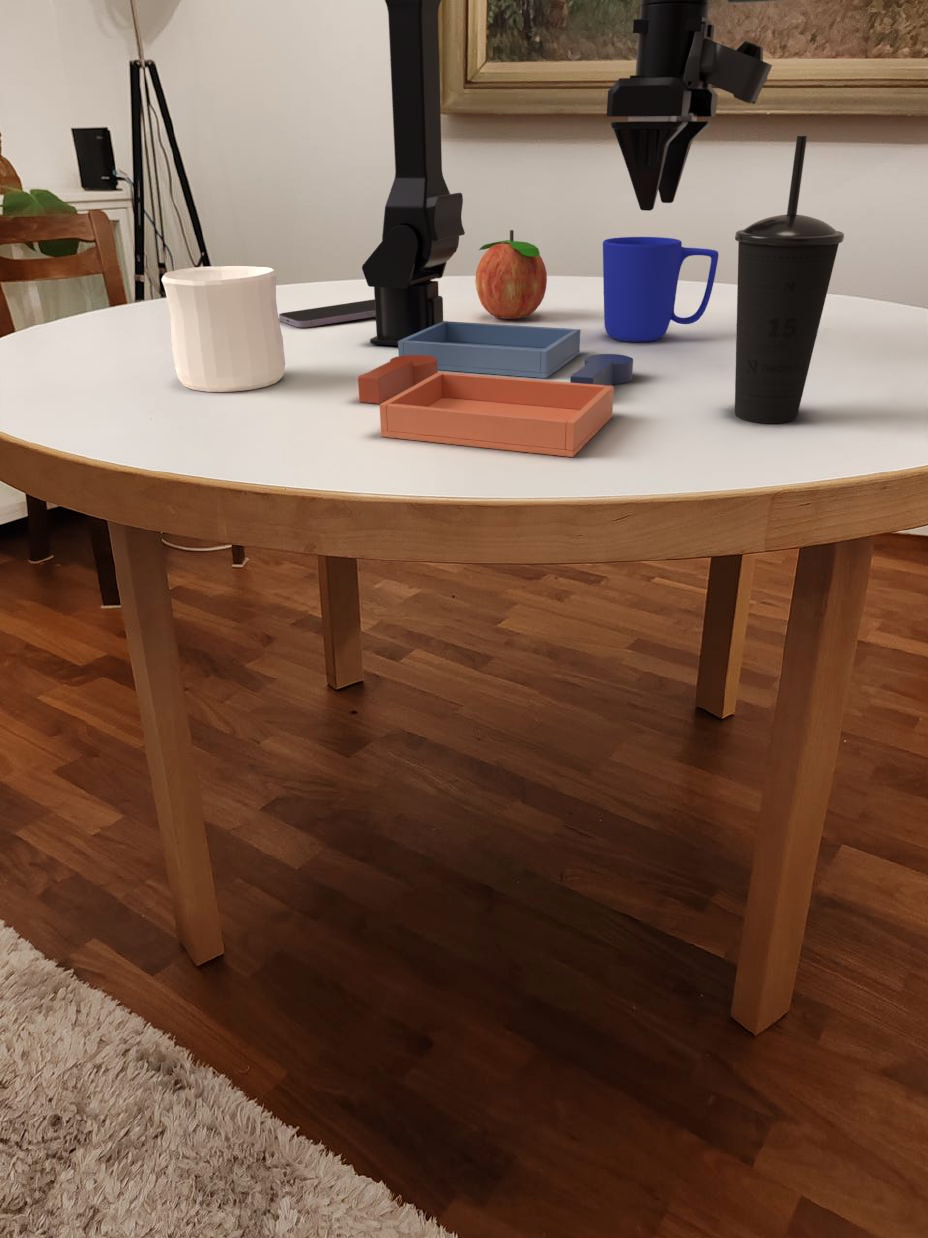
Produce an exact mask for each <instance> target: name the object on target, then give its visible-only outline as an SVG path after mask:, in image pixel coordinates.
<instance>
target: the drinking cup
mask: <svg viewBox="0 0 928 1238" xmlns="http://www.w3.org/2000/svg"><path fill="white" fill-rule="evenodd" d="M807 139H808V135H797V136H796V141H795V149H794V156H793V164H792V173H791V180H790V186H789V187H790V188H789V194H788V195H789V196H788V203H787V209H786V210H787V211H786V214H780V215H774V216H770V217H767V218H763V219H760V220H757V221H756V222H754V223H752V224H750V225H749V226H747V227H746V228H744V229H740V230H737V231H736V232H735V236H734V240H735V241H737V242H738V243H737V244H738V245H737V246H738V247H737V248H738V251H737V258H738V259H737V288H736V289H737V294H736V295H737V296H736V302H737V303H736V331H735V332H736V336H735V339H736V340H735V378H734V379H735V383H734V415H735V416H736V417H737V418H739V419H741V420H744V421H748V422H752V423H759V424H783V423H789V422H793V421H795V420H796V419H797V418H798V415H799V410H800V407H801V402H802V398H803V394H804V389H805V387H806V381H807V377H808V373H809V370H810V366H811V362H812V356H813V352H814V349H815V344H816V340H817V336H818V333H819V329H820V324H821V319H822V315H823V311H824V307H825V303H826V298H827V295H828V290H829V286H830V282H831V278H832V274H833V270H834V265H835V262H836V257H837V253H838V249H839V244H841V243H843V241H844V239H845V234H844V232H842V231H840V230H837V229H836V228H834V227H832V226H831V225H829V224H828V223H827V222H824V220H821V219H818V218H814V217H812V216H808V215H802V214H798V206H799V200H800V199H799V198H800V191H801V186H802V185H801V184H802V177H803V170H804V163H805V155H806V149H807Z"/></svg>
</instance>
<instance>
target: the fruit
mask: <svg viewBox="0 0 928 1238" xmlns="http://www.w3.org/2000/svg"><path fill="white" fill-rule="evenodd" d="M514 233H515V232H514V229H510V230H509V239H506V240H499V241H493V242H490V243H486V244H484V245H482V246H481V247H480V248H479V249H478V251H484V250H486V251H485V252H484V254H483V255H482V256H481V258H480V260H479V263H478V265H477V267H476V272H475V279H474V280H475V288H476V292H477V296H478V299H479V301H480V304H481V306H482V307H483V308H484V309H485V311H486V312H488V313H489V314H490V315H491V316H493V317H495V318H500V319H506V320H507V319H508V320H511V319H524V318H527V317H529V316H531V315H532V314H534V312H536V310H537V309H538V308H539V306H540V305H541V304H542V302H543V300H544V298H545V294H546V291H547V285H548V284H547V282H548V273H547V269H546V264H545V263H544V260H543V258H542V256H541V253H540V249H539V248H538V247H537V246H536V245H535V244H532V243H530V242H527V241H521V240H520V241H518V240H514V235H515V234H514Z"/></svg>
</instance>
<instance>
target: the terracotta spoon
mask: <svg viewBox="0 0 928 1238" xmlns="http://www.w3.org/2000/svg"><path fill="white" fill-rule="evenodd" d="M438 372H439V370H438V366H437V358H435V357H432V356H427V355H404V356H399V355H398V356H394V357H393V358H390V359H389V361H388V362H386V363H384V364H382V365H380V366H377V367H375V368H374V369H371V370H369V371H367V372H365V373H363V374H361V375H359V376H358V377H357V385H358V402H359V403H365V404H366V403H367V404H377V405H380V404H381V403H383V402H385V401H387V400H389V399H390V398H392V397H394V396H396V395H398V394H400V393H401V392H403V391H405V390H407V389H409V388H411V387H412V386H414V385H416V384H418V383H420V382H421V381H423V380H425V379H427V378H429V377H431V376H432V375H434V374H436V373H438Z"/></svg>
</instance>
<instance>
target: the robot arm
mask: <svg viewBox="0 0 928 1238" xmlns="http://www.w3.org/2000/svg"><path fill="white" fill-rule="evenodd" d="M788 1H789V2H790V0H727V2H728V3H729V4H746V3H767V2H769V3H770V2H788ZM441 2H442V0H384V3H385V5H386V8H387V15H388V16H387V17H388V40H389V58H390V59H389V61H390V62H389V64H390V82H391V84H390V85H391V102H392V103H391V105H392V127H393V146H394V149H393V150H394V151H393V152H394V171H395V172H394V179H393V181H392V185H391V188H390V190H389V193H388V197H387V200H386V202H385V206H384V215H383V225H382V234H381V237H382V238H381V242H380V243H379V244H378V245H377V247H376V248H375V249H374V251H373V252H372V253H371V254H370V255H369V256H368V258H367V259H366V260H365V261H364V263H363V264H362V265H361V266H362V267H361V270H362V273H363V275H364V278H365V281H366V283H367V286H368V287H370V288H373V295H374V299H375V314H376V316H375V330H376V336H374V337H372V338H370V339H369V344H371V345H382V346H397V347H398V341H399V340H402V339H404V338H406V337H408V336H411V335H413V334H415V333H418V332H420V331H422V330H424V329H427V328H429V327H431V326H433V325H436V324H438V323H440V322H442V321H444V298H443V296H441V295H439V280H436V279H442V278H443V277H444V273H445V269H446V266H447V263H448V261H449V260H450V259H451V258H452V257H453V256H454V254H455V253H456V252H457V250H458V248H459V244H460V243H459V242H460V236H464V235H465V234H466V232H465V229H464V225H463V220H462V213H463V212H462V211H463V204H464V197H463V193H462V192H455V193H454V192H453V193H451V192H450V190H449V187H448V185H447V183H446V180H445V178H444V175H443V174H444V173H443V159H442V124H441V123H442V120H441V117H442V115H441V79H440V75H441V74H440V39H439V38H440V35H439V9H440V5H441ZM709 4H710V0H640V7H639V18H638V19H637V18H636V19H633V26H632V34H633V35H636V36H637V48H636V61H635V75H629V77H620V78H618V79H617V80H616V82H615V83H614V84H613V85H612V86H611V88H609V89H608V91H607V99H606V118H607V117H610V118H611V117H612V118H614V117H615V118H618V117H619V118H620V117H622V118H623V117H627V121H611V122H610V126H611V129H612V130H613V131H614V134H615V138H616V140H617V143H618V146H619V148H620V152H621V154H622V157H623V160H624V163H625V166H626V169H627V172H628V175H629V179H630V182H631V185H632V188H633V191H634V194H635V197H636V200H637V203H638V206H639V209H640V210H641V211H645V212H646V211H647V212H649V211H652V210H654V208H655V204H656V200H657V196H658V195H659V197H660V202H661V203H663V204H672V203H674V201H675V198H676V195H677V192H678V188H679V185H680V182H681V178H682V176H683V172H684V170H685V165H686V162H687V160H688V156H689V153H690V151H691V147H692V144H693V142H694V140H695V139H697V137H699V136H700V135H701V134H702V133H703V131H705V130H706V129H707V128H709V127H710V126H711V124H712V121H708V120H707V121H702V120H701V121H700V120H698V121H697V119H698V118H708V117H709V118H714V117H716V116H717V106H718V97H719V94H718V93H717V92H716V91H715V90H714V88H713V87H715V88H717V89H720V90H722V91H725V92H728V93H730V94H732V95H733V96H732V97H733V98H734V99H737V100H739V101H742V102H744V103H747V104H750V105H751V104H753V105H755V104H756V102H757V100H758V98H759V97H760V93H761V92H762V89H763V87H764V85H765V84H766V82H767V81H768V76H769V74H770V71H771V69H772V67H773V64H771V63H768V62H766V61H764V47H762V46H760V45H758V44H754V43H753V42H750V41H748V40H745V41H744V42H743V43H741V45H740V46H739V47H738V48H737V49H734V48H731V47H728V46H726V45H724V44H721V43H718V42H716V41H714V35H715V34H714V33H715V25H714V24H712V21H711V20H709V19H708V16H709V6H710V5H709Z"/></svg>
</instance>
